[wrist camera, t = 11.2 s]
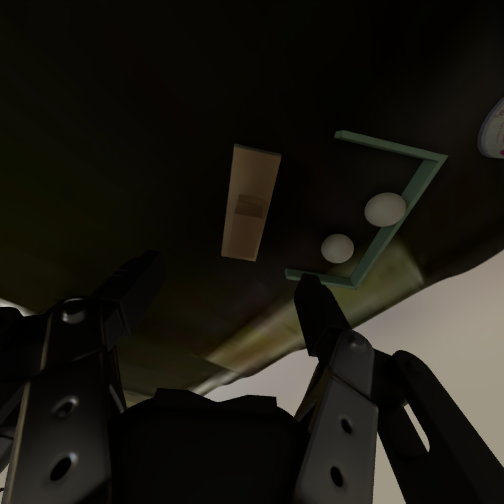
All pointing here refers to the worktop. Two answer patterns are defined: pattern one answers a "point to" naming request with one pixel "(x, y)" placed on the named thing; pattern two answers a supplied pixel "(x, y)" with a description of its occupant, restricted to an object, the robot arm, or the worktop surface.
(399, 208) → the paper ball
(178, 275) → the worktop surface
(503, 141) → the aerosol can
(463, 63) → the worktop surface
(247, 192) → the brown t-shaped block
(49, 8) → the worktop surface
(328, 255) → the paper ball
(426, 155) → the corral
